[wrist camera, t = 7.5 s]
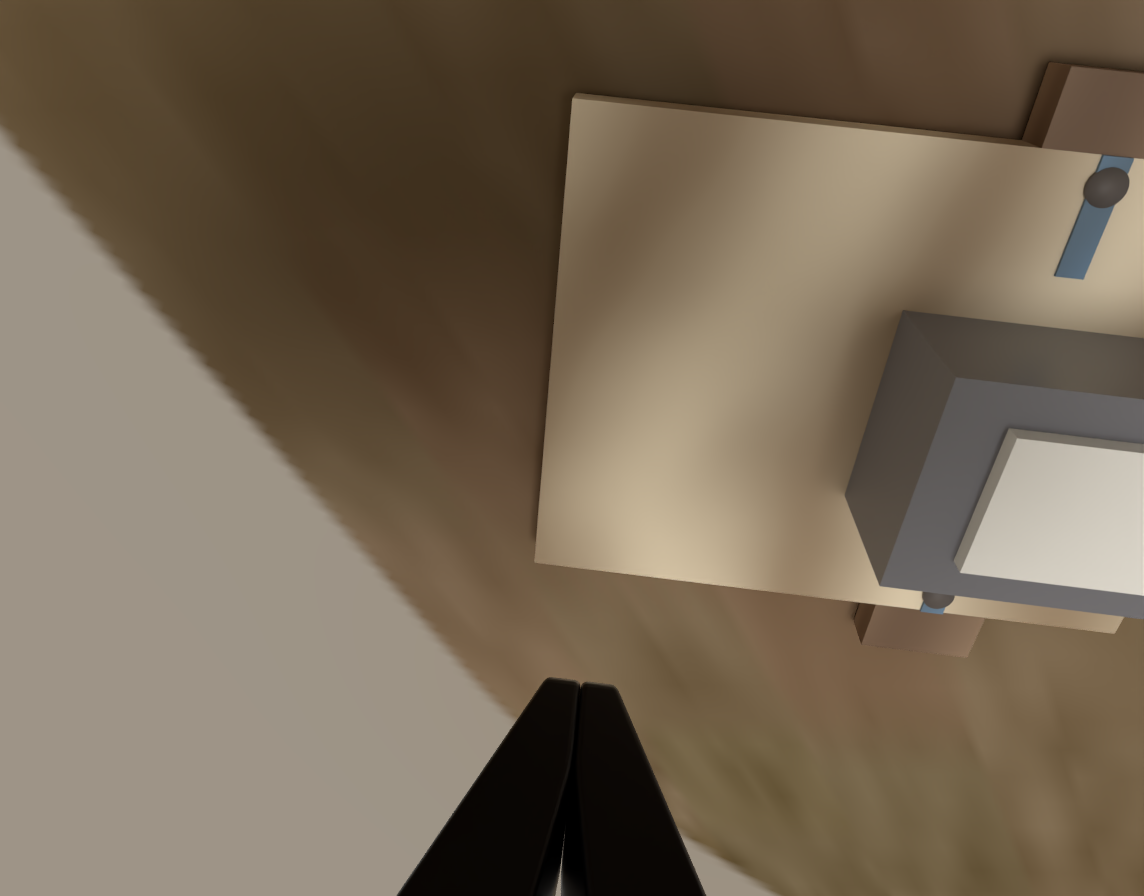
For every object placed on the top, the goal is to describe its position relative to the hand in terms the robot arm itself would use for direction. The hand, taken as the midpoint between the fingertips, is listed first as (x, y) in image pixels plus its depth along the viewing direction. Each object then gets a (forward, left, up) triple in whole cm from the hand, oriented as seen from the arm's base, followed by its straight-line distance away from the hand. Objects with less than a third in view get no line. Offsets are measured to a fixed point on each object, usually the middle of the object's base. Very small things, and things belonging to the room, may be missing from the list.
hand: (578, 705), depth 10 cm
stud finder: (-10, +1, -11) cm, 15 cm away
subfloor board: (-6, +1, -12) cm, 14 cm away
